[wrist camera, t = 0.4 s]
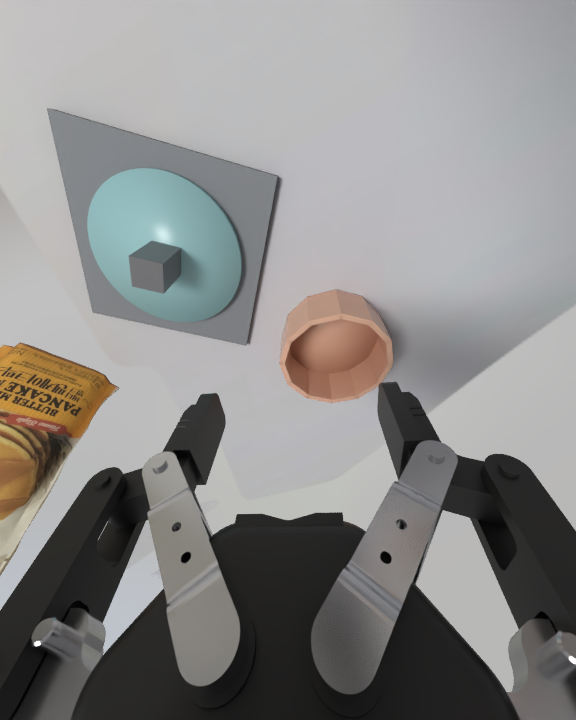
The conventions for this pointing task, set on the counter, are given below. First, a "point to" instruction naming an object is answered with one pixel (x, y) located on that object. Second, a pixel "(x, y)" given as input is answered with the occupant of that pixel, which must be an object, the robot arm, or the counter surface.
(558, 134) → the counter surface
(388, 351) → the bowl
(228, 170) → the mat
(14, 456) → the pancake mix bag
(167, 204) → the lid
